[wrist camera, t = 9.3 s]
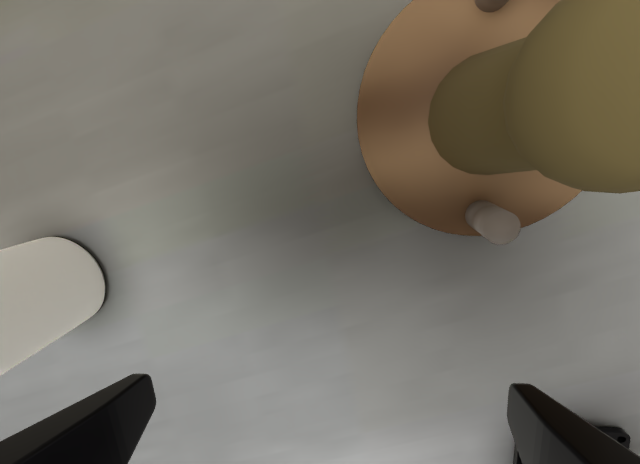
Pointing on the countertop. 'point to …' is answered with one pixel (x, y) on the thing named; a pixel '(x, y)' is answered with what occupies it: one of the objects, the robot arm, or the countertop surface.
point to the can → (44, 295)
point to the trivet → (413, 111)
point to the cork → (550, 101)
